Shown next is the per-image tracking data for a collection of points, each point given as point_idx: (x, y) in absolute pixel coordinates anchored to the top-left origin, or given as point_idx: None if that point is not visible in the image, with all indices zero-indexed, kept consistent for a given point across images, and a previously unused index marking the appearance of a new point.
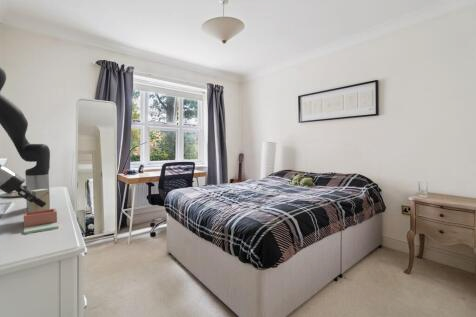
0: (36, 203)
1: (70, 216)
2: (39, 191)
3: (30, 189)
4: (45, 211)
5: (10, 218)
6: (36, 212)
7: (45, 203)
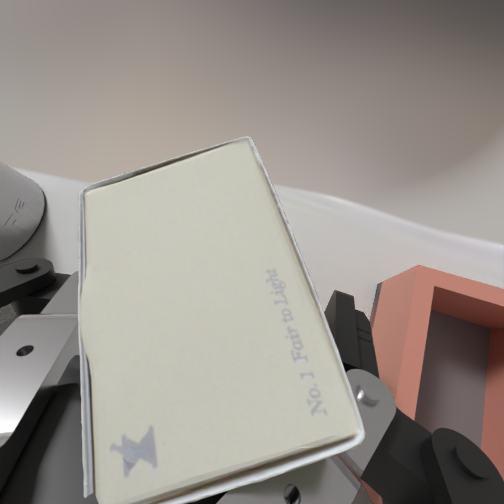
0: None
1: (362, 209)
2: (325, 330)
3: (8, 415)
4: (417, 338)
5: None
6: (407, 405)
7: (350, 298)
